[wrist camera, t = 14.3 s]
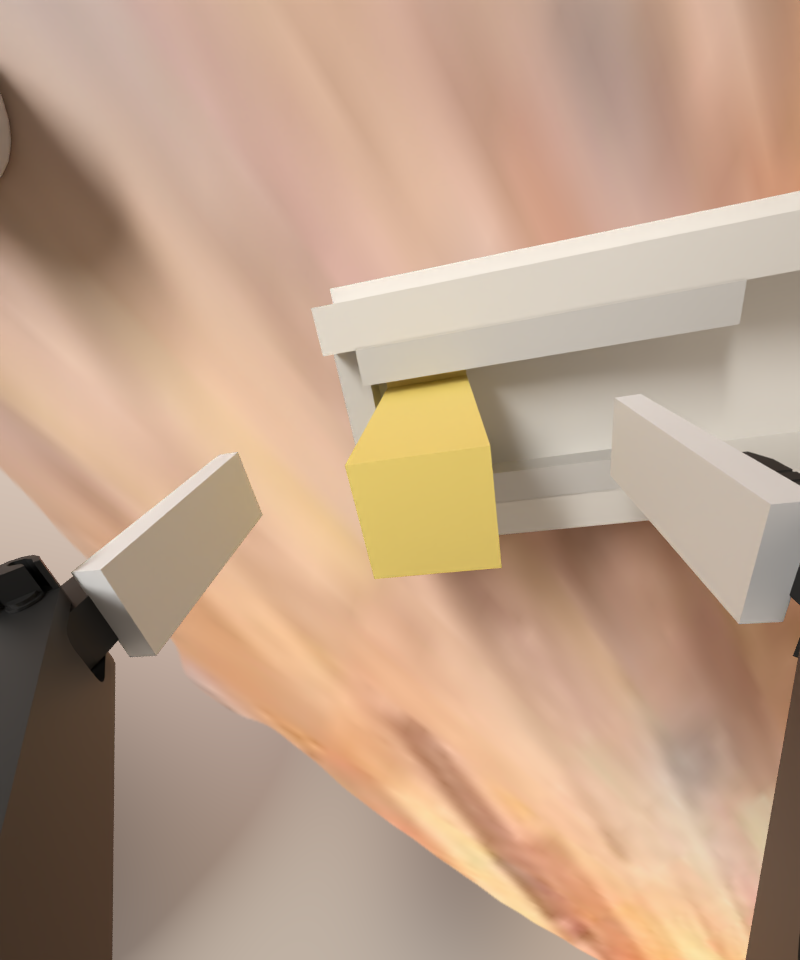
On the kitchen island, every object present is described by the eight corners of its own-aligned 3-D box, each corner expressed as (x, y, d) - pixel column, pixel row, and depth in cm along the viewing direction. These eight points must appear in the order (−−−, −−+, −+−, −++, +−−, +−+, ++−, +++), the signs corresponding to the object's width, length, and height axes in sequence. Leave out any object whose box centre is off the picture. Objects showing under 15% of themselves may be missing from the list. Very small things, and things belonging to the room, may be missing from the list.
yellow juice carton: (386, 354, 21) (332, 417, 10) (461, 340, 21) (485, 393, 10) (408, 468, 24) (383, 612, 13) (474, 459, 23) (504, 603, 13)
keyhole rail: (334, 289, 21) (305, 287, 16) (938, 163, 17) (1121, 115, 12) (385, 514, 27) (373, 559, 22) (845, 463, 22) (946, 505, 18)
